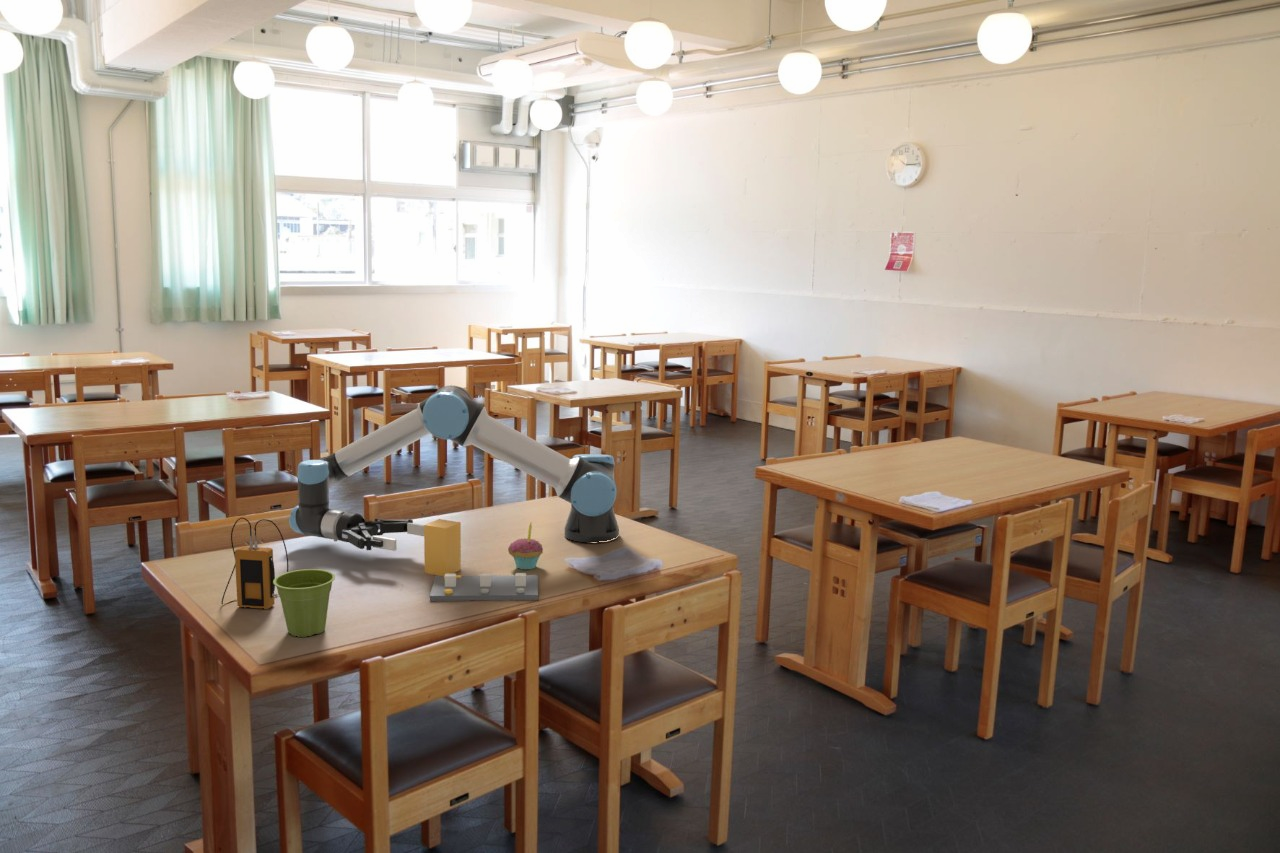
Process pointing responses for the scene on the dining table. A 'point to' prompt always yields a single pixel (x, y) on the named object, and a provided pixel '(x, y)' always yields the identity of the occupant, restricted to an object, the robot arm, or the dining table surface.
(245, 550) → the multimeter
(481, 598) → the board
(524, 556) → the cupcake
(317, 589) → the plant pot
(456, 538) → the cap
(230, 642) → the dining table surface
